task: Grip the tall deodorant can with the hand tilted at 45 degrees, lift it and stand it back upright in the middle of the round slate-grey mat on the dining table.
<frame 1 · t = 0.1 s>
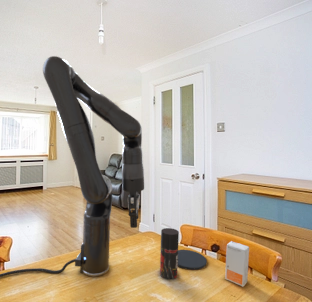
hand: (134, 222, 78), 17 cm above the table, tool pointing down, fingers open, 8 cm apart
mat: (187, 260, 88), on the table
cosmetic box: (236, 281, 75), on the table
deodorant: (168, 274, 77), on the table
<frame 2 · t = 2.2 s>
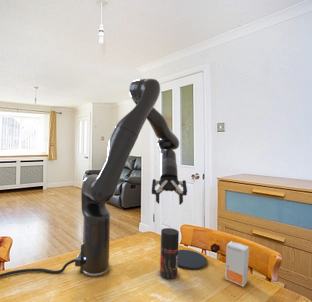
hand: (169, 203, 88), 22 cm above the table, tool tilted 45°, fingers open, 8 cm apart
nothing on the table moved.
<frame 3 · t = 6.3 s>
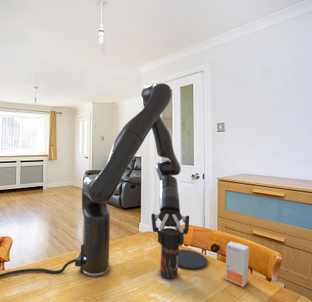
hand: (170, 244, 75), 11 cm above the table, tool tilted 45°, fingers closed on deodorant, 6 cm apart
deodorant: (168, 274, 77), on the table, touching gripper
everything else where it was.
when the fingers open (12 cm above the table, at t = 15.0 s): deodorant stays where it is, resting on mat.
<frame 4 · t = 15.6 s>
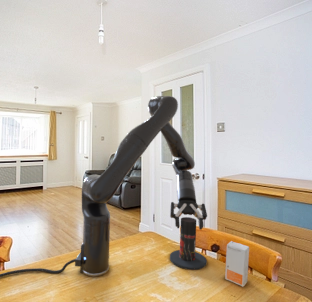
hand: (189, 228, 86), 13 cm above the table, tool tilted 45°, fingers open, 8 cm apart
deodorant: (187, 257, 88), point 1 cm above the table, touching mat
everything else where it was.
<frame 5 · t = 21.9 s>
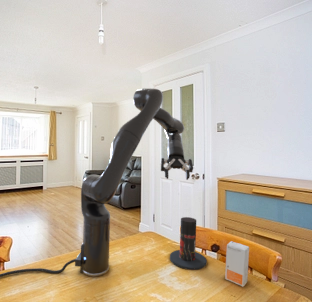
hand: (177, 178, 97), 31 cm above the table, tool tilted 45°, fingers open, 8 cm apart
nothing on the table moved.
at the end: deodorant inside the target area on the mat (0.4 cm from its centre), point 0.6 cm above the mat's base; deodorant tilted 0°; the gripper is holding nothing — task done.
